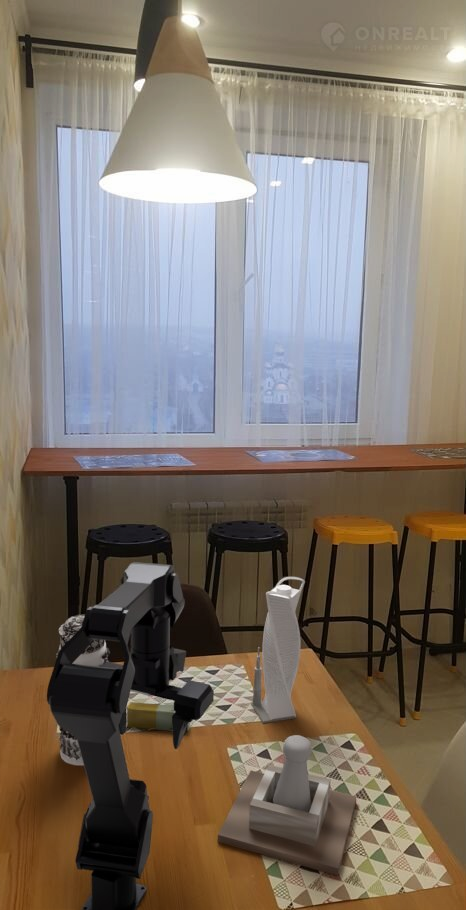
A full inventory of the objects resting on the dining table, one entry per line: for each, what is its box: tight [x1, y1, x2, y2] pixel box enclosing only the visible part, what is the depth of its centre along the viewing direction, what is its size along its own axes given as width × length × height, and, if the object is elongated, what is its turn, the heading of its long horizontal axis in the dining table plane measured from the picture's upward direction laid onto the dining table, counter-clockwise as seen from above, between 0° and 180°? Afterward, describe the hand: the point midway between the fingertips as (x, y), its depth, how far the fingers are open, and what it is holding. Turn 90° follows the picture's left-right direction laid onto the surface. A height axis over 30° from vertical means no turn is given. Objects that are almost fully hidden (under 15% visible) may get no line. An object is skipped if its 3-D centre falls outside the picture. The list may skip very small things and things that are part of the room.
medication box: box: [126, 701, 191, 733], centre depth 130 cm, size 12×3×4 cm, turn 84°
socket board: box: [217, 764, 357, 877], centre depth 105 cm, size 16×18×5 cm
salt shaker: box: [273, 734, 313, 812], centre depth 103 cm, size 6×6×13 cm
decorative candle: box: [55, 613, 111, 767], centre depth 119 cm, size 9×9×25 cm
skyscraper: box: [250, 576, 306, 724], centre depth 133 cm, size 8×8×28 cm
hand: (149, 740), depth 103 cm, fingers open, 9 cm apart
